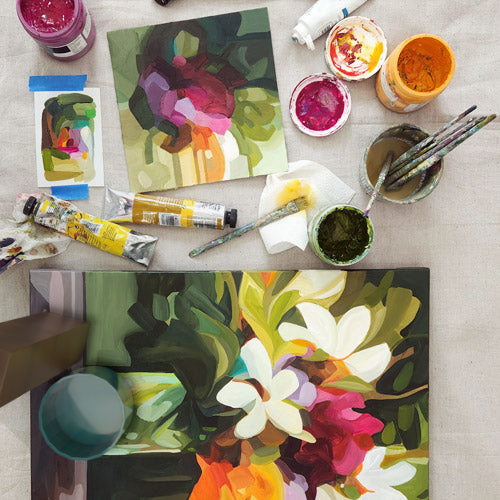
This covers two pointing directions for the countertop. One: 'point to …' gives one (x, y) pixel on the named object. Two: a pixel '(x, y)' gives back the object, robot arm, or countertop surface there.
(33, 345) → the pedestal
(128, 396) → the bowl
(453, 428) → the countertop surface
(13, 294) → the countertop surface
